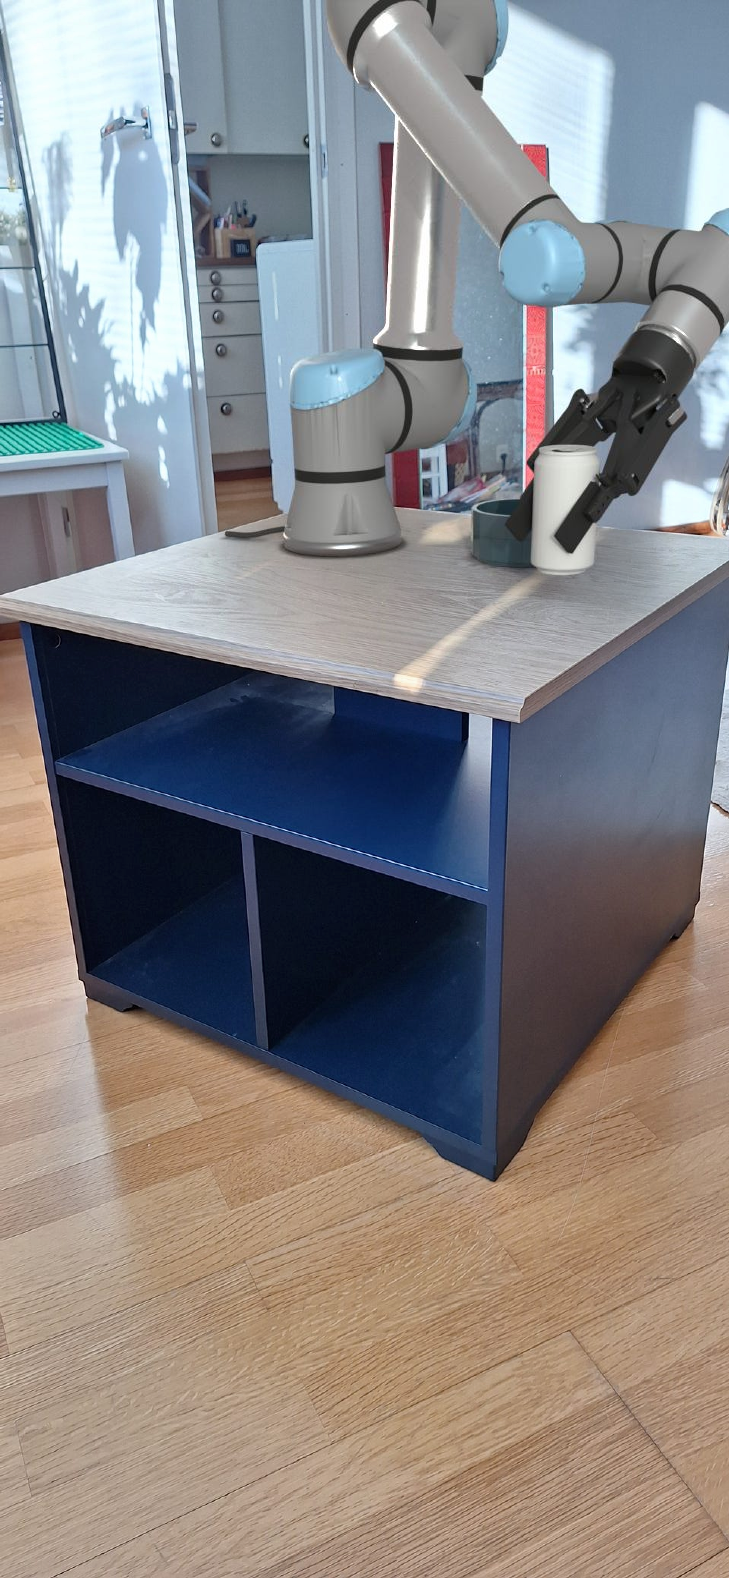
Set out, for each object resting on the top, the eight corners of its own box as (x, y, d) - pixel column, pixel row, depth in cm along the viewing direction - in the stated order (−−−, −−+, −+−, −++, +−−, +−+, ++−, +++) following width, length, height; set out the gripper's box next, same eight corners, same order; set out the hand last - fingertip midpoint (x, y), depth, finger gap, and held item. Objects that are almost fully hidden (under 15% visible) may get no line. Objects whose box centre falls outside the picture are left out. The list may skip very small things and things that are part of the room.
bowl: (453, 561, 134) (453, 511, 132) (501, 542, 143) (502, 495, 141) (544, 572, 128) (546, 519, 125) (589, 552, 137) (591, 502, 134)
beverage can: (518, 571, 113) (522, 449, 108) (552, 559, 118) (557, 441, 113) (572, 580, 109) (579, 454, 104) (605, 567, 114) (613, 445, 109)
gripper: (758, 384, 107) (628, 579, 105) (609, 374, 121) (492, 545, 120) (728, 327, 102) (591, 530, 100) (576, 324, 116) (454, 502, 115)
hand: (537, 538), depth 110 cm, fingers closed on beverage can, 6 cm apart
